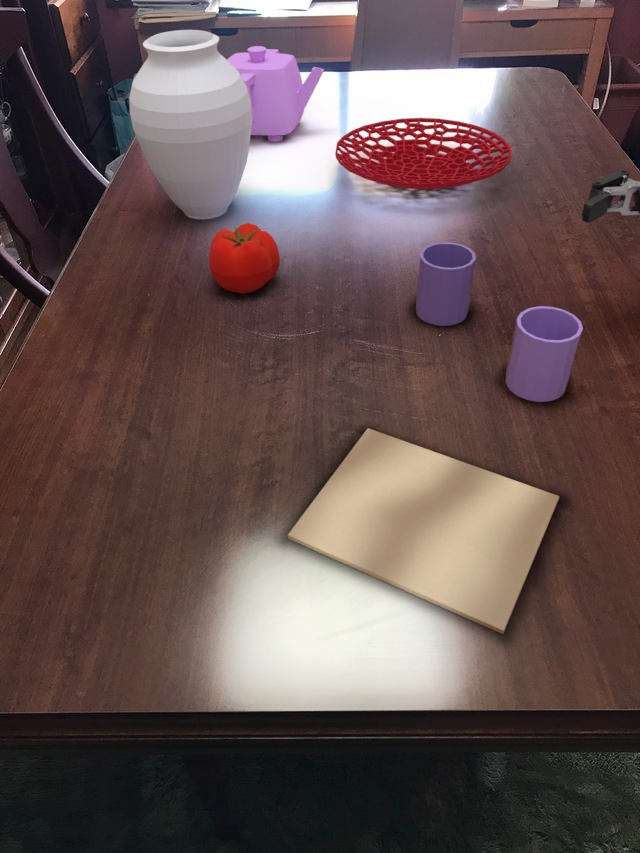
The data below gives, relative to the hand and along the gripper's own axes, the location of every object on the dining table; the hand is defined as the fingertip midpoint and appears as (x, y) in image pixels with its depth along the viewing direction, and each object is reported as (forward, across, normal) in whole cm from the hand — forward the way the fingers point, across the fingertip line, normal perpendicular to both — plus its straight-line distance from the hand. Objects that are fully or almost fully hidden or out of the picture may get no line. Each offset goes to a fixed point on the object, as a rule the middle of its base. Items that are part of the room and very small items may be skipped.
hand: (622, 227), depth 72 cm
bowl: (-21, -48, +16) cm, 54 cm away
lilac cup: (+7, -17, +15) cm, 24 cm away
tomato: (+22, -39, +16) cm, 48 cm away
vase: (+13, -63, +16) cm, 66 cm away
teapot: (-15, -85, +16) cm, 88 cm away
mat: (+34, +6, +15) cm, 37 cm away
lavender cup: (+10, 0, +15) cm, 18 cm away
